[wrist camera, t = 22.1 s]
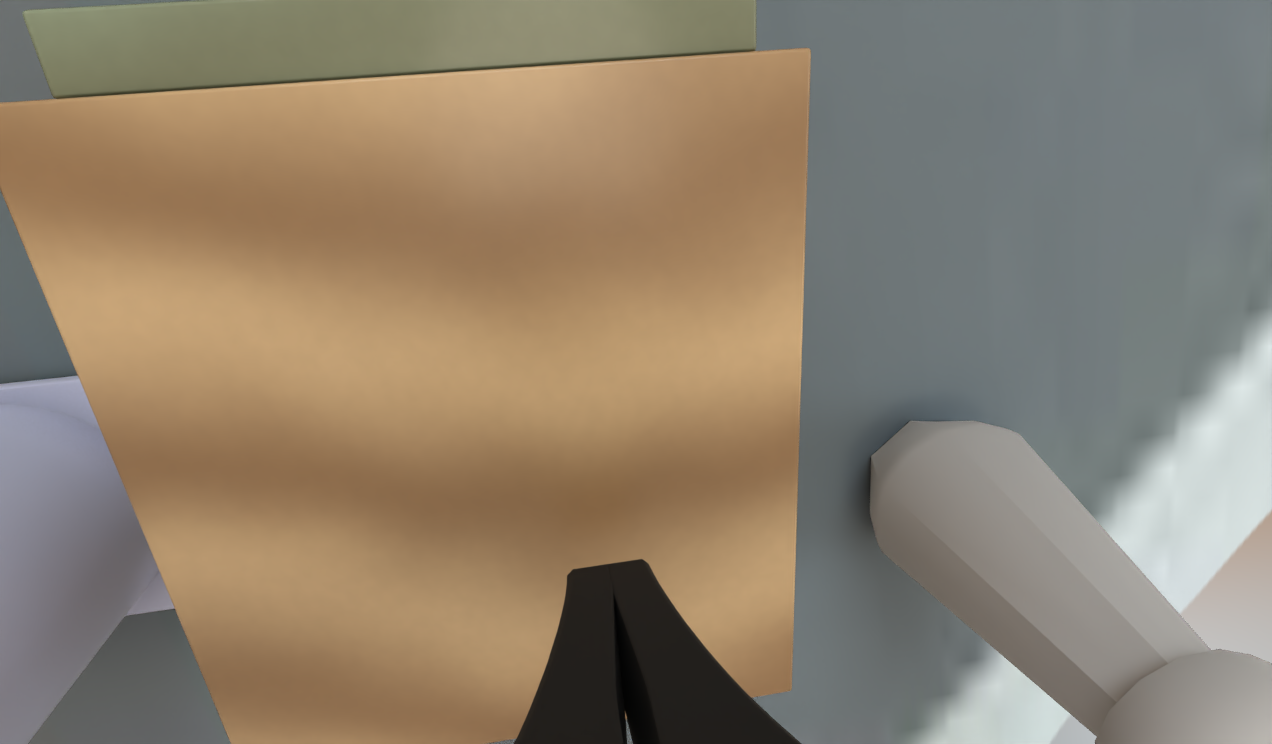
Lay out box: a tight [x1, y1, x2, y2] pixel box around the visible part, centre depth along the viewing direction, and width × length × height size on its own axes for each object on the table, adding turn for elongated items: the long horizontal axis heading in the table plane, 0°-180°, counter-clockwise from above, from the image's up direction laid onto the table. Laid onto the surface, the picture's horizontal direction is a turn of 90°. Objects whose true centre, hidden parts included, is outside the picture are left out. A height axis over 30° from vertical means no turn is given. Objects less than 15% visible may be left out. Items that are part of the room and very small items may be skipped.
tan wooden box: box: [0, 48, 811, 744], centre depth 17 cm, size 14×12×9 cm
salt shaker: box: [870, 421, 1272, 744], centre depth 19 cm, size 6×6×13 cm
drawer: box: [23, 0, 756, 99], centre depth 15 cm, size 18×11×7 cm, turn 4°
